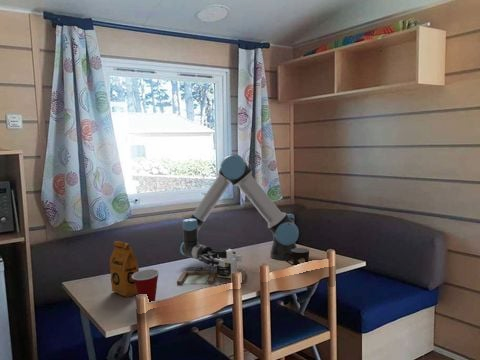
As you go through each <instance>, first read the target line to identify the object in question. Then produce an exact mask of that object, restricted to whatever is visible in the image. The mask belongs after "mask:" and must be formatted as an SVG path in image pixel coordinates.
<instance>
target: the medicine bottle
mask: <svg viewBox="0 0 480 360" xmlns="http://www.w3.org/2000/svg"><path fill="white" fill-rule="evenodd" d="M219 250H220V251H219V252H220V260H224V261H225V267H222V266H218V265H216V271H217V275H216V276H217V277H219V278H229V279H230V278H231V274H232V273H233V272H236V271H237V270H238V266H237V265H238V264H237V263H238V261H237V260H236V258H233V252H234V251H233V249H231V248H221V249H219ZM231 279H232V278H231Z"/></svg>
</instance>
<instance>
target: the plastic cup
mask: <svg viewBox="0 0 480 360" xmlns="http://www.w3.org/2000/svg"><path fill="white" fill-rule="evenodd" d="M159 275H160V271H159V270H158V269H156V268H154V269H153V268H147V269H142V270H139V271H138V272H136V273H134V274H133V275H132V279H133V280H134V282H135V285H136V289H137V293H138V294H147V296H148V299H149V302H151V301H155V302H156V296H157V289H158V279H159ZM138 294H137V295H138Z"/></svg>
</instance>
